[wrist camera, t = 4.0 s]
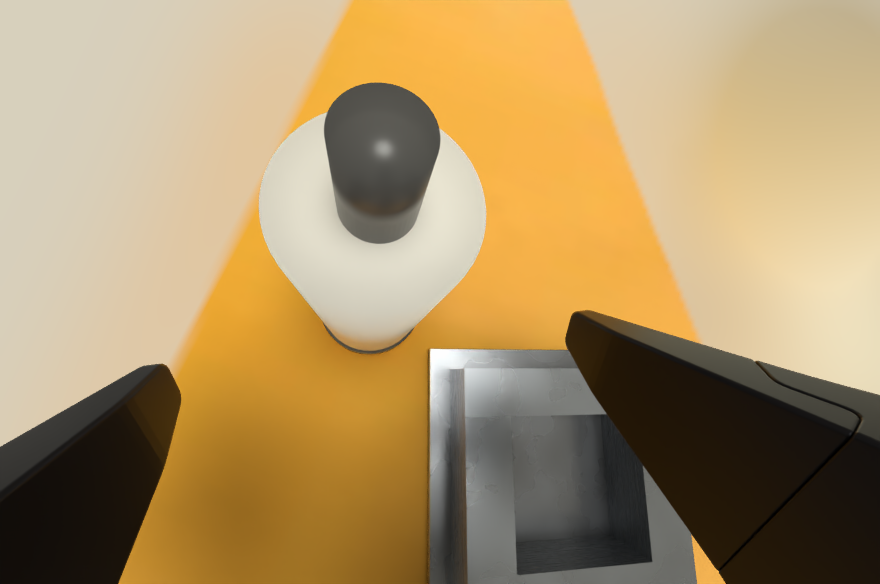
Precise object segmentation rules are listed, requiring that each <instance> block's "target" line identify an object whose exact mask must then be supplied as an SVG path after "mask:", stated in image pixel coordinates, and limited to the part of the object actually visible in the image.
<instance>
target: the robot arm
mask: <svg viewBox="0 0 880 584" xmlns="http://www.w3.org/2000/svg"><path fill="white" fill-rule="evenodd" d="M565 342H566V346H567V349H568V351H569V353H570V354H571V356H572V358H573V360H574V362H575V363H576V365H577V367H578V369H579V371H580V373H581V374H582V376H583V378H584V380H585V382H586V383H587V385H588V387H589V389H590V390H591V392H592V394H593V395H594V397H595V398H596V400H597V401H598V402H599V404H600V405H601V407H602V408H603V410H604V411H605V412H606V414H607V415H608V417H609V418H610V419H611V421H612V422H613V424H614V425H615V426H616V428H617V429H618V431H619V432H620V434H621V435H622V436H623V438H624V439H625V441H626V442H627V443H628V445H629V446H630V448H631V449H632V451H633V452H634V453H635V455H636V456H637V458H638V459H639V460H640V462H641V463H642V465H643V466H644V468H645V469H646V470H647V472H648V473H649V475H650V476H651V477H652V479H653V480H654V482H655V483H656V485H657V486H658V487H659V489H660V490H661V492H662V493H663V494H664V496H665V497H666V499H667V500H668V502H669V503H670V504H671V506H672V507H673V509H674V510H675V511H676V513H677V514H678V516H679V517H680V519H681V520H682V521H683V523H684V524H685V526H686V527H687V528H688V530H689V531H690V533H691V534H692V536H693V537H694V538H695V540H696V541H697V543H698V544H699V545H700V547H701V548H702V550H703V551H704V553H705V554H706V555H707V557H708V558H709V560H710V561H711V563H712V564H713V565H714V567H715V568H716V569H717V570H718V571H719V574H720V575H721V577H722V578H723V580H724V581H725V583H726V584H880V395H877V394H874V393H870V392H866V391H862V390H859V389H855V388H851V387H847V386H844V385H840V384H836V383H833V382H829V381H826V380H822V379H818V378H815V377H811V376H807V375H804V374H801V373H797V372H794V371H790V370H787V369H784V368H780V367H777V366H774V365H770V364H767V363H763V362H760V361H755V362H754V361H753V360H751V359H748V358H745V357H742V356H738V355H735V354H732V353H729V352H725V351H722V350H719V349H716V348H712V347H709V346H706V345H702V344H699V343H696V342H692V341H689V340H686V339H683V338H679V337H676V336H673V335H669V334H666V333H663V332H660V331H656V330H653V329H650V328H646V327H643V326H640V325H637V324H633V323H630V322H627V321H623V320H620V319H617V318H613V317H610V316H607V315H604V314H600V313H597V312H594V311H590V310H585V311H577V312H574V313H573V314H572V316H571V319H570V322H569V326H568V330H567V333H566V338H565ZM180 405H181V394H180V390H179V388H178V386H177V384H176V382H175V380H174V378H173V376H172V374H171V372H170V370H169V368H168V367H167V366H166V365H164V364H155V365H147V366H142V367H140V368H138V369H136V370H134V371H132V372H131V373H129V374H127V375H126V376H124V377H122V378H120V379H119V380H117V381H115V382H113V383H111V384H110V385H108V386H106V387H104V388H103V389H101V390H99V391H98V392H96V393H94V394H92V395H90V396H89V397H87V398H85V399H83V400H82V401H80V402H78V403H76V404H75V405H73V406H71V407H70V408H68V409H66V410H64V411H62V412H61V413H59V414H57V415H55V416H54V417H52V418H50V419H49V420H46V421H45V422H43V423H41V424H40V425H38V426H36V427H35V428H32V429H31V430H29V431H27V432H25V433H24V434H22V435H20V436H19V437H17V438H15V439H13V440H12V441H10V442H8V443H6V444H4V445H3V446H1V447H0V584H118V583H119V580H120V578H121V575H122V573H123V570H124V568H125V565H126V563H127V560H128V558H129V555H130V553H131V550H132V548H133V545H134V543H135V540H136V538H137V535H138V533H139V530H140V528H141V525H142V523H143V520H144V517H145V515H146V512H147V510H148V507H149V505H150V502H151V500H152V497H153V495H154V492H155V490H156V487H157V485H158V482H159V480H160V477H161V474H162V472H163V469H164V466H165V463H166V459H167V456H168V452H169V448H170V444H171V440H172V436H173V433H174V429H175V425H176V421H177V417H178V413H179V409H180Z"/></svg>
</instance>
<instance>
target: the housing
mask: <svg viewBox="0 0 880 584" xmlns="http://www.w3.org/2000/svg"><path fill="white" fill-rule="evenodd" d="M428 584H697V580H696V571H695V563H694V555H693V546H692V538H691V533H690V531H689V530H688V528H687V527H686V526H685V524H684V523H683V521H682V520H681V519H680V517H679V516H678V514H677V513H676V511H675V510H674V509H673V507H672V506H671V504H670V503H669V502H668V500H667V499H666V497H665V496H664V494H663V493H662V492H661V490H660V489H659V487H658V486H657V485H656V483H655V482H654V480H653V479H652V477H651V476H650V475H649V473H648V472H647V470H646V469H645V468H644V466H643V465H642V463H641V462H640V460H639V459H638V458H637V456H636V455H635V453H634V452H633V451H632V449H631V448H630V446H629V445H628V443H627V442H626V441H625V439H624V438H623V436H622V435H621V434H620V432H619V431H618V429H617V428H616V426H615V425H614V424H613V422H612V421H611V419H610V418H609V417H608V415H607V414H606V412H605V411H604V410H603V408H602V407H601V405H600V404H599V402H598V401H597V400H596V398H595V397H594V395H593V394H592V392H591V390H590V389H589V387H588V385H587V383H586V382H585V380H584V378H583V376H582V374H581V373H580V371H579V369H578V367H577V365H576V363H575V362H574V360H573V358H572V356H571V354H570V353H569V351H568V350H485V349H429V350H428Z"/></svg>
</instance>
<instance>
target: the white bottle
mask: <svg viewBox="0 0 880 584" xmlns="http://www.w3.org/2000/svg"><path fill="white" fill-rule="evenodd" d="M259 216H260V224H261V228H262V232H263V235H264V239H265V242H266V244H267V246H268V248H269V251H270V253H271V255H272V256H273V258H274V259H275V261H276V263H277V264H278V266H279V267H280V269H281V270H282V271H283V272H284V274H285V275H286V276H287V277H288V279H289V280H290V281H291V282H292V284H293V285H294V286H295V287H296V289H297V290H298V291H299V292H300V294H301V295H302V296H303V297H304V299H305V300H306V301H307V302H308V304H309V305H310V306H311V307H312V309H313V310H314V311H315V312H316V314H317V315H318V316H319V318H320V319H321V320H322V321H323V324H324V326H325V328H326V329H327V331H328V333H329V334H330V335H331V336H332V337H333V338H334V340H335V341H337V342H338V343H339V344H340V345H342V346H343V347H344V348H346V349H348V350H350V351H353V352H356V353H361V354H378V353H383V352H386V351H388V350H390V349H393V348H394V347H396V346H397V345H399V344H400V343H401V342H402V341H404V340H405V339H406V338H407V337H408V335H409V334H410V333H411V332H412V330H413V329H414V327H415V326H416V325H417V324H418V323H419V322H420V321H421V320H422V319H423V318H424V317H425V316H426V315H427V314H428V313H429V312H430V311H431V310H432V309H433V308H434V307H435V306H436V305H437V304H438V303H439V302H440V301H441V300H442V299H443V298H444V297H445V296H446V295H447V294H448V293H449V292H450V291H451V290H452V289H453V288H454V287H455V286H456V285H457V284H458V283H459V282H460V281H461V280H462V279H463V277H464V276H465V275H466V274H467V272H468V271H469V269H470V268H471V266H472V265H473V263H474V261H475V259H476V257H477V255H478V253H479V251H480V248H481V245H482V241H483V238H484V232H485V227H486V206H485V198H484V193H483V189H482V186H481V183H480V180H479V177H478V175H477V173H476V171H475V169H474V167H473V165H472V163H471V162H470V160H469V159H468V157H467V156H466V154H465V153H464V151H463V150H462V149H461V148H460V147H459V146H458V145H457V143H456V142H455V141H454V140H453V139H451V138H450V137H449V136H448V135H447V134H446V133H445V132H443V131H442V130H441V129H439V126H438V123H437V120H436V118H435V116H434V114H433V113H432V111H431V110H430V108H429V107H428V106H427V105H426V104H425V102H423V101H422V100H421V99H420V98H419V97H418V96H416V95H415V94H413V93H412V92H410V91H408V90H406V89H404V88H402V87H399V86H396V85H393V84H387V83H367V84H362V85H359V86H356V87H353V88H351V89H349V90H347V91H346V92H344V93H343V94H341V95H340V96H339V97H338V98H337V99H336V100H335V101H334V102H333V104H332V105H331V107H330V108H329V110H328V112H326V113H324V114H322V115H319V116H317V117H315V118H313V119H311V120H309V121H308V122H306V123H305V124H303V125H301V126H300V127H299V128H297V129H296V130H295V131H294V132H293V133H291V134H290V135H289V136H288V137H287V138H286V139H285V140H284V142H283V143H282V144H281V145H280V146H279V148H278V149H277V150H276V152H275V153H274V155H273V156H272V158H271V160H270V162H269V164H268V166H267V168H266V171H265V174H264V177H263V180H262V183H261V189H260V194H259Z"/></svg>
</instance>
